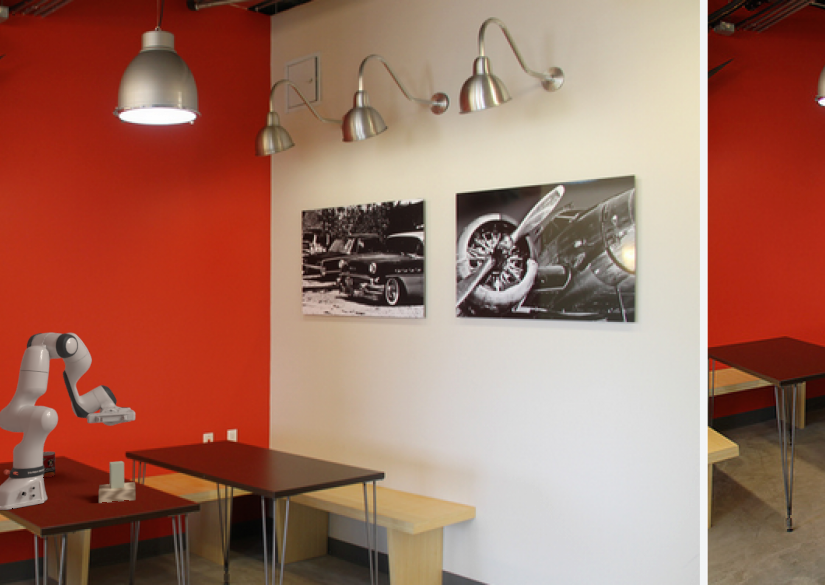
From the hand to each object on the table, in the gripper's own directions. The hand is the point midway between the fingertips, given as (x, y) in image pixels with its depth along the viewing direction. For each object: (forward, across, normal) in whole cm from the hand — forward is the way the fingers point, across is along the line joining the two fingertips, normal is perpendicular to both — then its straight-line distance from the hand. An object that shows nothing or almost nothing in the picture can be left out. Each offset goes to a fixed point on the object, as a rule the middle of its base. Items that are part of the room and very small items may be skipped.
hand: (112, 419), depth 352 cm
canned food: (-42, -27, +30) cm, 58 cm away
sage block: (+22, 0, +26) cm, 34 cm away
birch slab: (+22, +1, +30) cm, 38 cm away
